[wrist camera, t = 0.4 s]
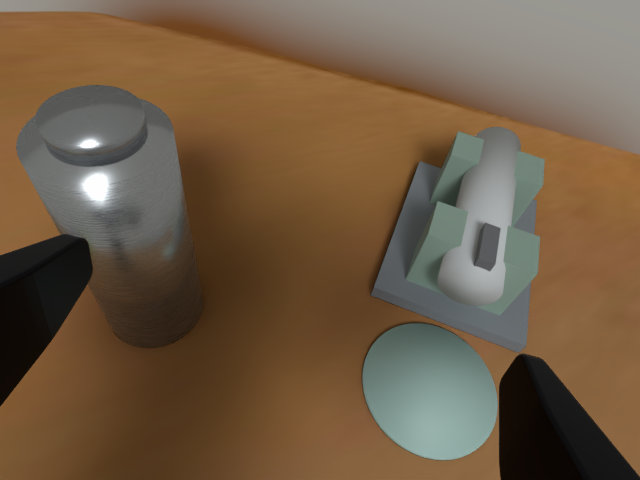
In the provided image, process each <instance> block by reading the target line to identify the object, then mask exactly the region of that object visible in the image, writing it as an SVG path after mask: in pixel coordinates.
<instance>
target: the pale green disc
mask: <svg viewBox="0 0 640 480" xmlns="http://www.w3.org/2000/svg"><path fill="white" fill-rule="evenodd" d="M362 385H363V392H364V396H365V400H366V403H367V406H368V408H369V410H370V413H371V414H372V416H373V418H374V420H375V421H376V423H377V424H378V425H379V427H380V428H381V429H382V431H383V432H384V433H385V434H386V435H387V436H388V437H389V438H390V439H391V440H393V441H394V442H395V443H396V444H398V445H399V446H400V447H402V448H403V449H405V450H407V451H409V452H411V453H413V454H415V455H418V456H420V457H423V458H428V459H432V460H453V459H457V458H461V457H463V456H466V455H468V454H470V453H472V452H473V451H475V450H476V449H478V448H479V447H480V446H481V445H482V444H483V443H484V442H485V441H486V439H487V438H488V437H489V435H490V433H491V431H492V430H493V427H494V424H495V421H496V416H497V405H498V403H497V394H496V389H495V385H494V382H493V379H492V376H491V374H490V372H489V370H488V368H487V367H486V365H485V363H484V362H483V360H482V359H481V358H480V356H479V355H478V354H477V353H476V351H475V350H474V349H473V348H472V347H471V346H470V345H469V344H467V343H466V342H465V341H464V340H462V339H461V338H460V337H458V336H457V335H455V334H453V333H452V332H450V331H447V330H445V329H443V328H440V327H437V326H434V325H429V324H422V323H410V324H404V325H400V326H397V327H394V328H392V329H390V330H388V331H387V332H385V333H384V334H382V335H381V336H380V337H379V338H378V339H377V340H376V341H375V342H374V344H373V345H372V347H371V348H370V350H369V352H368V354H367V356H366V359H365V362H364V366H363V373H362Z"/></svg>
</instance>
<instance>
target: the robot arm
mask: <svg viewBox="0 0 640 480" xmlns="http://www.w3.org/2000/svg"><path fill="white" fill-rule="evenodd" d="M92 273H93V265H92V259H91V254H90V248H89V243H88V241H87V240H86V239H85V238H83V237H79V236H75V235H71V234H62V235H59V236H56V237H53V238H50V239H47V240H44V241H41V242H39V243H36V244H33V245H30V246H27V247H24V248H21V249H18V250H15V251H12V252H9V253H6V254H3V255H0V406H1V405H2V404H3V402H4V401H5V400H6V399H7V397H8V396H9V395H10V393H11V392H12V391H13V390H14V388H15V387H16V386H17V384H18V383H19V382H20V381H21V379H22V378H23V377H24V376H25V374H26V373H27V372H28V370H29V369H30V368H31V367H32V365H33V364H34V363H35V361H36V360H37V359H38V358H39V356H40V355H41V354H42V352H43V351H44V350H45V349H46V347H47V346H48V345H49V343H50V342H51V341H52V339H53V338H54V336H55V335H56V333H57V332H58V330H59V329H60V327H61V325H62V324H63V322H64V321H65V319H66V317H67V316H68V314H69V313H70V311H71V309H72V308H73V306H74V305H75V303H76V301H77V300H78V298H79V297H80V295H81V293H82V292H83V290H84V289H85V287H86V285H87V284H88V282H89V280H90V279H91V276H92ZM499 466H500V477H501V480H640V477H639V475H638V474H637V473H636V472H635V470H634V469H633V468H632V467H631V466H630V464H629V463H628V462H627V461H626V460H625V458H624V457H623V456H622V455H621V453H620V452H619V451H618V450H617V449H616V447H615V446H614V445H613V444H612V443H611V441H610V440H609V439H608V438H607V436H606V435H605V434H604V433H603V432H602V430H601V429H600V428H599V427H598V425H597V424H596V423H595V422H594V421H593V419H592V418H591V417H590V416H589V415H588V413H587V412H586V411H585V410H584V408H583V407H582V406H581V405H580V404H579V402H578V401H577V400H576V399H575V398H574V396H573V395H572V394H571V393H570V391H569V390H568V389H567V388H566V387H565V385H564V384H563V383H562V382H561V380H560V379H559V378H558V377H557V376H556V374H555V373H554V372H553V371H552V370H551V368H550V367H549V366H548V365H547V363H546V362H545V361H544V360H543V359H541V358H539V357H535V356H531V355H527V354H519V355H518V356H517V357H516V358H515V359H514V361H513V362H512V364H511V365H510V367H509V368H508V369H507V371H506V372H505V374H504V375H503V377H502V379H501V381H500V385H499Z"/></svg>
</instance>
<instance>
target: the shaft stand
mask: <svg viewBox="0 0 640 480" xmlns="http://www.w3.org/2000/svg"><path fill="white" fill-rule="evenodd" d="M520 149H521V144H520V140H519V138H518V137H517V135H516V134H515V133H514V132H512V131H511V130H509V129H506V128H502V127H491V128H487V129H484V130H482V131H480V132H479V133H478V134H477V135H476V136H475V137H474V136H471V135H468V134H465V133H462V132H459V131H458V133H457V135H456V137H455V139H454V142H453V144H452V146H451V148H450V151H449V153H448V155H447V157H446V159H445V162H444V164H443V166H442V168H439V167H436V166H433V165H430V164H427V163H424V162H421V161H420V162H419V164H418V167H417V170H416V172H415V175H414V178H413V180H412V183H411V186H410V189H409V191H408V194H407V197H406V200H405V202H404V205H403V208H402V211H401V213H400V216H399V219H398V222H397V224H396V227H395V230H394V233H393V235H392V238H391V241H390V244H389V246H388V249H387V252H386V255H385V257H384V260H383V263H382V266H381V268H380V271H379V274H378V277H377V279H376V282H375V285H374V288H373V290H372V293H371V296H374V297H376V298H379V299H382V300H384V301H387V302H389V303H392V304H394V305H397V306H400V307H402V308H405V309H407V310H410V311H412V312H415V313H418V314H420V315H423V316H425V317H428V318H430V319H433V320H436V321H438V322H441V323H443V324H446V325H448V326H451V327H454V328H456V329H459V330H461V331H464V332H466V333H469V334H472V335H474V336H477V337H479V338H482V339H484V340H487V341H490V342H492V343H495V344H497V345H500V346H502V347H505V348H508V349H510V350H513V351H515V352H518V353H519V352H520V351H521V350H522V349H523V348H524V347H526V341H527V328H528V314H529V300H530V286H531V281H532V280H533V278H534V277H535V276H536V275H537V274H538V260H539V243H540V237H539V236H536V235H534V231H535V217H536V203H537V201H536V200H533V198H534V197H535V196H536V194H537V193H538V192H539V190H540V189H541V187H542V186H543V177H544V160H545V159H542V158H539V157H536V156H533V155H530V154H527V153H523V152H520Z"/></svg>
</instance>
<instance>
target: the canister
mask: <svg viewBox="0 0 640 480" xmlns="http://www.w3.org/2000/svg"><path fill="white" fill-rule="evenodd" d="M16 149H17V154H18V157H19V159H20V161H21V163H22V165H23V166H24V168H25V170H26V172H27V174H28V176H29V177H30V179H31V181H32V183H33V185H34V187H35V189H36V190H37V192H38V194H39V196H40V198H41V200H42V201H43V203H44V205H45V207H46V209H47V211H48V212H49V214H50V216H51V218H52V220H53V222H54V223H55V225H56V227H57V229H58V231H59V233H60V234H61V235H62V234H71V235H75V236H79V237H83V238H85V239H86V240H87V241H88V243H89V248H90V254H91V259H92V265H93V273H92V276H91V279H90V280H89V282H88V286H89V288H90V290H91V291H92V293H93V295H94V297H95V299H96V301H97V302H98V304H99V306H100V308H101V310H102V312H103V313H104V315H105V317H106V319H107V321H108V323H109V324H110V326H111V328H112V330H113V331H114V333H115V334H116V335H117V336H118V337H119V338H120V339H121V340H122V341H124V342H126V343H128V344H130V345H133V346H136V347H141V348H156V347H161V346H165V345H168V344H171V343H173V342H175V341H177V340H179V339H180V338H182V337H183V336H185V335H186V334H187V333H188V332H189V331H190V330H191V329H192V328H193V327H194V326H195V324H196V323H197V321H198V319H199V318H200V315H201V312H202V308H203V297H202V291H201V286H200V280H199V274H198V269H197V263H196V257H195V251H194V246H193V240H192V234H191V228H190V223H189V217H188V211H187V206H186V200H185V194H184V188H183V183H182V177H181V171H180V166H179V160H178V154H177V148H176V143H175V137H174V131H173V127H172V123H171V121H170V119H169V118H168V116H167V115H166V114H165V113H164V112H163V111H162V110H161V109H160V108H158V107H157V106H155V105H153V104H152V103H150V102H147V101H145V100H143V99H139V98H137V97H136V96H134V95H133V94H132V93H130V92H128V91H126V90H123V89H120V88H117V87H112V86H104V85H90V86H81V87H76V88H71V89H68V90H65V91H62V92H60V93H58V94H56V95H54V96H52V97H50V98H49V99H48V100H46V101H45V102H44V103H43V104H42V105H41V106H40V107H39V109H38V111H37V113H36V115H35V116H34V117H33V118H31V119H30V120H29V121H28V122H27V123H26V125H25V126H24V127H23V128H22V130H21V132H20V134H19V136H18V139H17V145H16Z"/></svg>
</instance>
